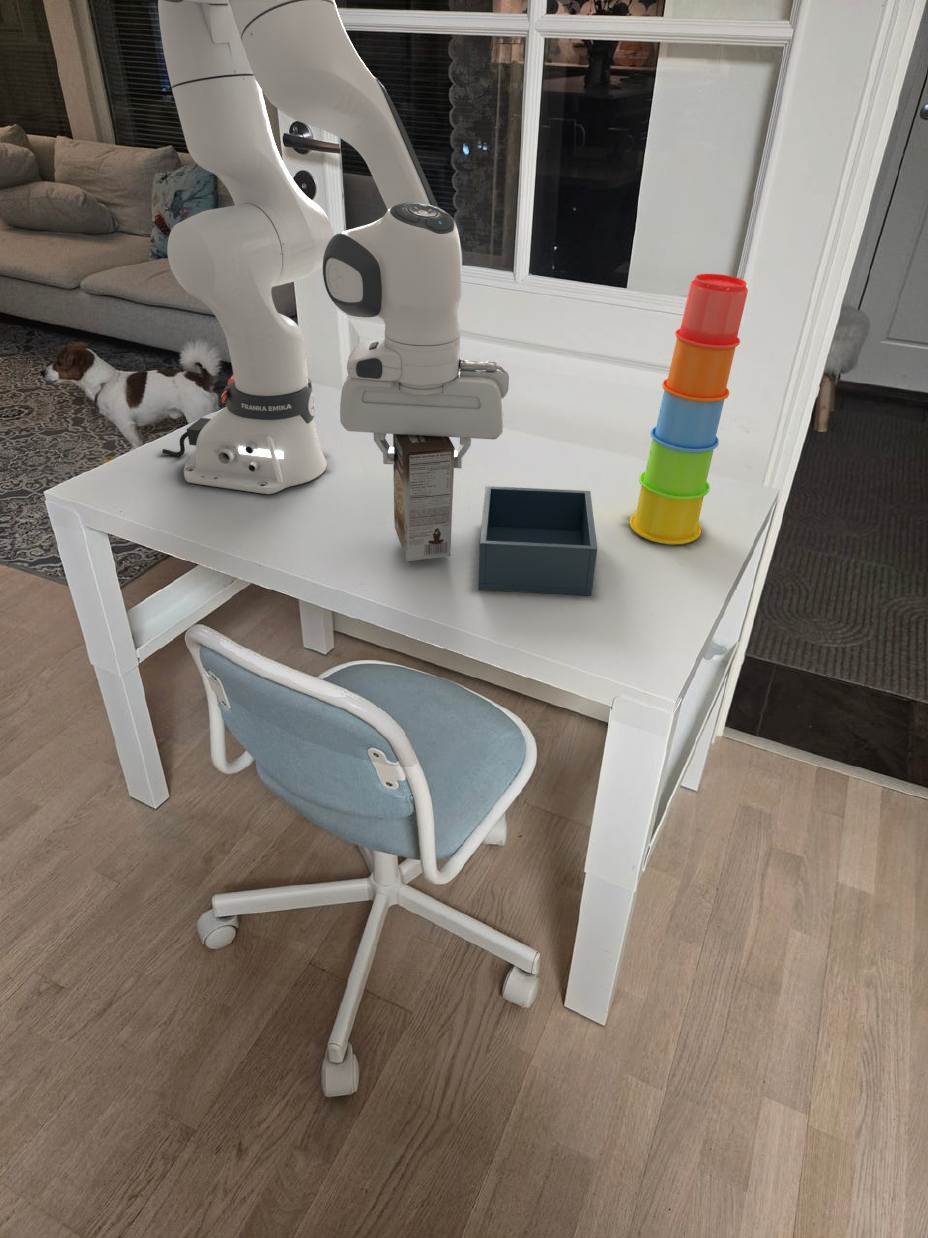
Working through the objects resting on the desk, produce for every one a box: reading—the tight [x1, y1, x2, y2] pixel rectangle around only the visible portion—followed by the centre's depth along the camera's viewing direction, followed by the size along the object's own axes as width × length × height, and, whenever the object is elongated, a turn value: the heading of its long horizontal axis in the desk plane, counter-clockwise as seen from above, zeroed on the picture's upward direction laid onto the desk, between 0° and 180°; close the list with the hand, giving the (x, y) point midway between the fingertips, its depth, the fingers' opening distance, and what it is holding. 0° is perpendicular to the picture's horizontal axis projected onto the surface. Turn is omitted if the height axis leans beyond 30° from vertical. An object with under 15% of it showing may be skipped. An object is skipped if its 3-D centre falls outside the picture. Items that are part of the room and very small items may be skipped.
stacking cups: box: [629, 273, 749, 546], centre depth 109 cm, size 10×10×35 cm
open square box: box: [477, 485, 598, 596], centre depth 110 cm, size 15×16×7 cm
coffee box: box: [392, 434, 456, 562], centre depth 108 cm, size 9×6×16 cm
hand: (422, 464), depth 105 cm, fingers closed on coffee box, 7 cm apart
